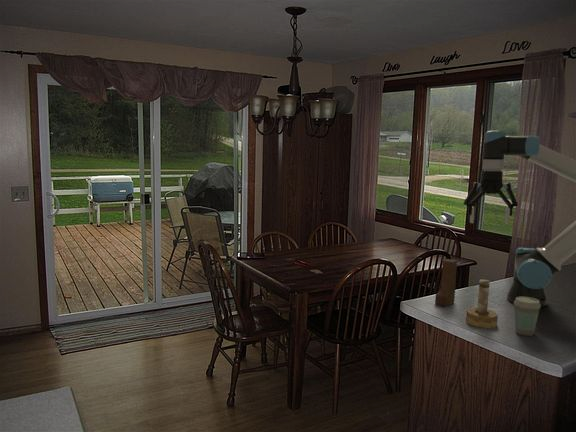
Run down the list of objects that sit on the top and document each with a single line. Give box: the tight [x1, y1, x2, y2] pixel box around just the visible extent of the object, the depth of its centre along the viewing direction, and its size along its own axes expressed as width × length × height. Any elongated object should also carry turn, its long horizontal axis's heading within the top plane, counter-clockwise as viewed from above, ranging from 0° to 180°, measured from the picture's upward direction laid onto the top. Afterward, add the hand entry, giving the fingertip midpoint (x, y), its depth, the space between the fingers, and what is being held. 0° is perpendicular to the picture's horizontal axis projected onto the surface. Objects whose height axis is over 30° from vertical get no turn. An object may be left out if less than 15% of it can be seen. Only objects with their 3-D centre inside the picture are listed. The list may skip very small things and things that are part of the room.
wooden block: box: [434, 258, 458, 308], centre depth 198 cm, size 9×4×18 cm, turn 137°
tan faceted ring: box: [465, 306, 499, 329], centre depth 178 cm, size 10×10×4 cm
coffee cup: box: [513, 297, 542, 337], centre depth 169 cm, size 8×9×12 cm
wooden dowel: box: [476, 279, 490, 315], centre depth 177 cm, size 4×4×16 cm
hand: (489, 223), depth 193 cm, fingers open, 13 cm apart
